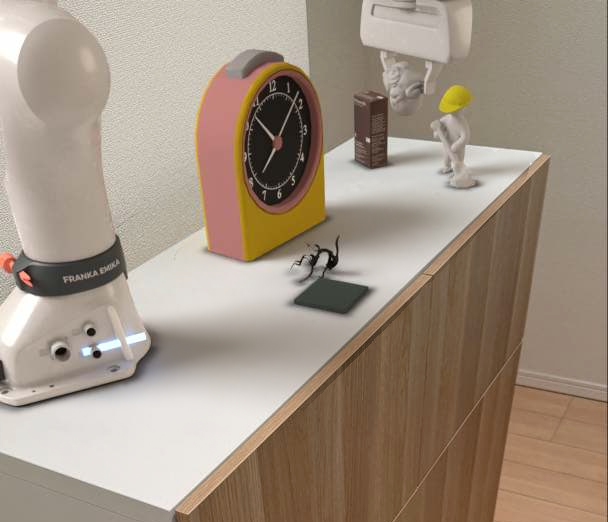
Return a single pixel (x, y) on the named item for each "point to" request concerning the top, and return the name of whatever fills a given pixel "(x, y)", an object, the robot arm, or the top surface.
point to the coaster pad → (331, 295)
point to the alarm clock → (259, 155)
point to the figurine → (454, 134)
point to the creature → (330, 263)
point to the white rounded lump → (403, 88)
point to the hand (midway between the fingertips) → (409, 89)
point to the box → (371, 128)
